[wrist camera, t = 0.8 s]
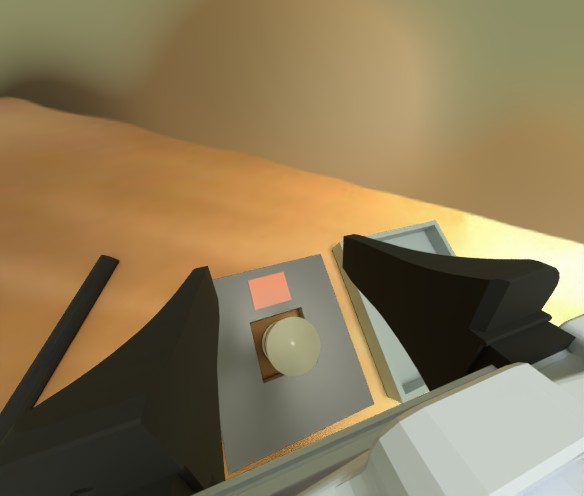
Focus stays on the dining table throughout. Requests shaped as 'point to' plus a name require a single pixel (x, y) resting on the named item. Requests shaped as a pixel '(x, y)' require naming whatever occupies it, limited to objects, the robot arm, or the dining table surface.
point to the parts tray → (381, 340)
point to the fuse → (291, 346)
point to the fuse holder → (281, 388)
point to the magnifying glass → (56, 345)
